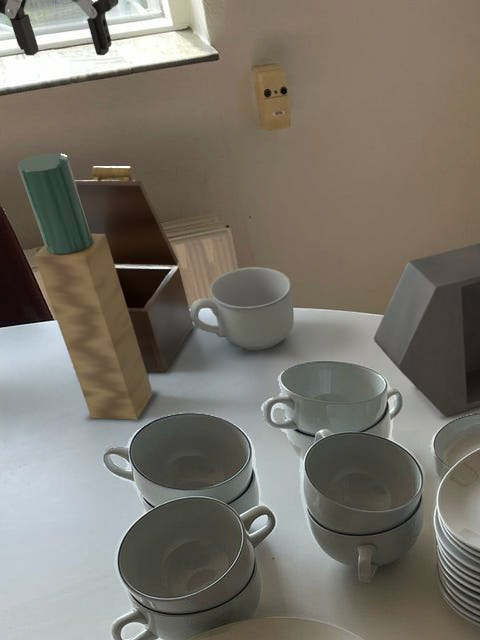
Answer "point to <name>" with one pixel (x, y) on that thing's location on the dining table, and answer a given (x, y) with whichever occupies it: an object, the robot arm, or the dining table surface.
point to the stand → (97, 329)
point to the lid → (125, 217)
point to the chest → (156, 312)
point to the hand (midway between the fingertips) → (67, 53)
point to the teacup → (249, 307)
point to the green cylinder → (56, 203)
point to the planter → (438, 328)
